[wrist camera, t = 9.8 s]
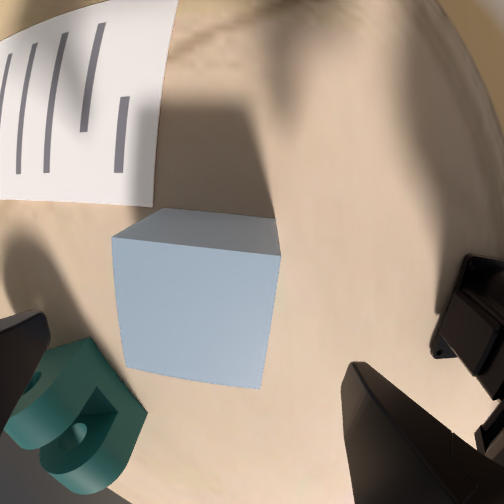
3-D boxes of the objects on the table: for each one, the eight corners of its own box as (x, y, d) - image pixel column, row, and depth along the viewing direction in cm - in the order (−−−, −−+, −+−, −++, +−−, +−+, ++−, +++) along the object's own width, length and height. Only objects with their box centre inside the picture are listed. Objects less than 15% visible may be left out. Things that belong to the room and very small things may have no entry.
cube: (275, 218, 13) (281, 256, 8) (262, 318, 14) (259, 389, 10) (164, 207, 13) (111, 237, 8) (163, 305, 14) (125, 366, 10)
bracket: (91, 335, 16) (22, 422, 8) (148, 410, 17) (113, 501, 10) (-11, 365, 18) (-52, 410, 11) (28, 415, 20) (-5, 463, 13)
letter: (181, -11, 9) (181, -12, 9) (153, 207, 13) (152, 207, 13) (-4, 44, 9) (-5, 44, 9) (-21, 198, 13) (-22, 199, 13)
